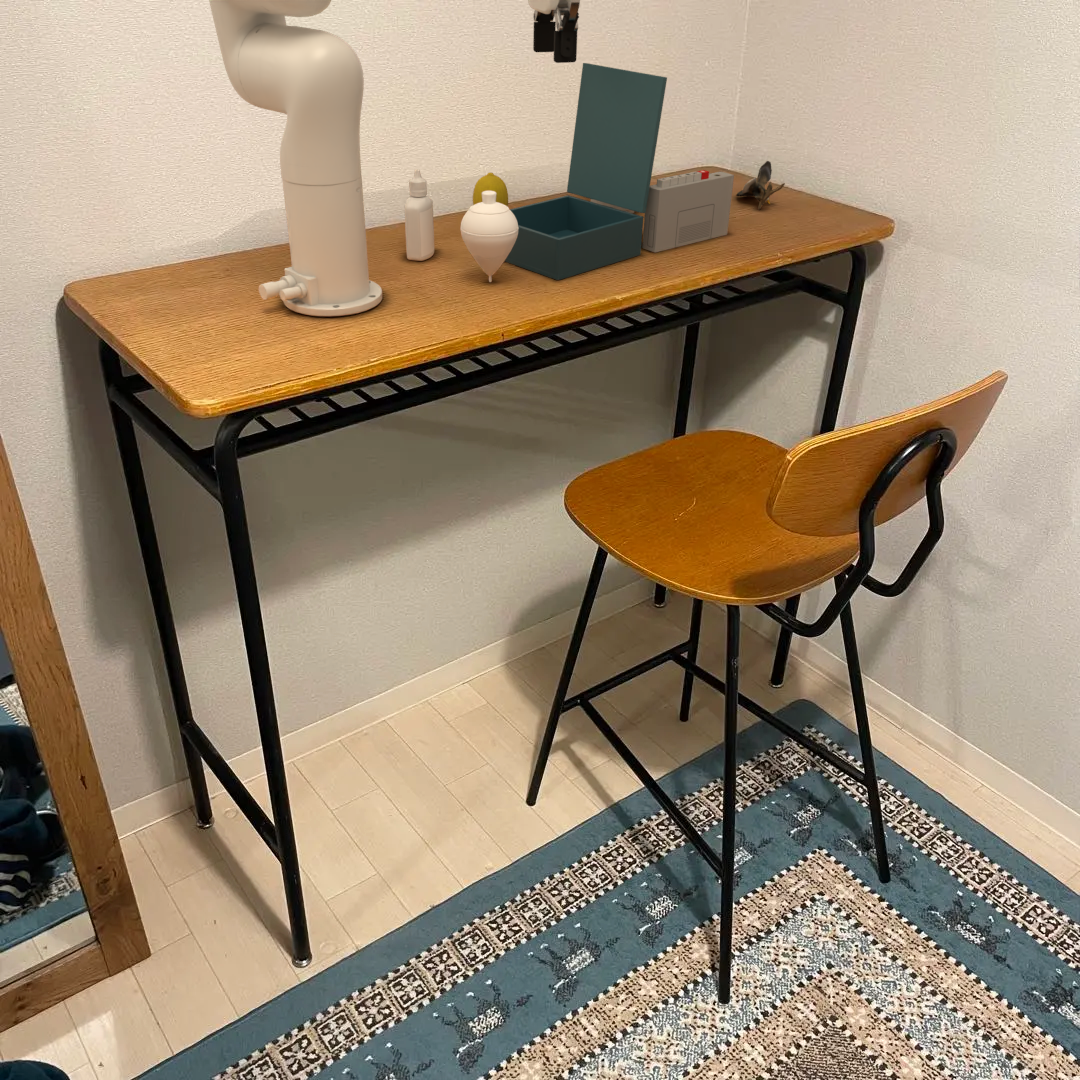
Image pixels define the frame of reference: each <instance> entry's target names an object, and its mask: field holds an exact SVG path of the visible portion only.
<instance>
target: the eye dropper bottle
mask: <svg viewBox="0 0 1080 1080" xmlns="http://www.w3.org/2000/svg"><path fill="white" fill-rule="evenodd" d="M427 183H428V182H427V179H426V178H423V177H422V173H421V170H420V169H414V173H413V177H412V178H410V179H409V180H408V188H409V189H408V190H409V197H408V198H407V199H406V201H405V204H404V224H405V225H404V227H405V229H404V230H405V248H406V250H405V251H406V258H407V260H409V261H415V262H424V261H425V260H428V259H430V258H432V256H434V254H435V249H436V248H435V225H434V222H435V221H434V203H433V202H434V201H433V200H432V198H431V197H430V196H428V184H427Z"/></svg>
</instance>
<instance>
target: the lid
mask: <svg viewBox="0 0 1080 1080" xmlns="http://www.w3.org/2000/svg"><path fill="white" fill-rule="evenodd" d="M667 80H668V77H666V76H661V75H656V74H650V73H645V72H639V71H632V70H628V69H622V68H617V67H611V66H604V65H600V64H595V63H588V62H583V63H582V69H581V77H580V85H579V94H578V100H577V109H576V117H575V123H574V131H573V139H572V147H571V156H570V163H569V171H568V180H567V186H566V193H569V194H572V195H577V196H580V197H583V198H587V199H590V200H591V199H593V200H597V201H600V202H604V203H608V204H611V205H615V206H618V207H622V208H625V209H629V210H632V211H635V212H636V213H639V214H645V213H646V206H647V200H648V194H649V188H650V186H651V181H652V175H653V169H654V161H655V156H656V151H657V142H658V137H659V131H660V127H661V126H660V124H661V119H662V112H663V106H664V100H665V94H666V88H667Z"/></svg>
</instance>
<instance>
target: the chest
mask: <svg viewBox="0 0 1080 1080" xmlns="http://www.w3.org/2000/svg"><path fill="white" fill-rule="evenodd" d="M509 209H510V210H511V212H512V213H513V214H514V216H515V217H516V219H517V222H518V236H517V239H516V241H515V244H514V246H513V248H512V250H511V252H510V253H509V255H508V256H507V258H506V259H505V261H504V262H505V263H508V264H510V265H514V266H517V267H519V268H522V269H525V270H527V271H530V272H532V273H533V272H534V273H537V274H539V275H542V276H545V277H548V278H550V279H553V280H556V281H560V280H561V281H562V280H564V279H567V278H570V277H574V276H577V275H580V274H583V273H586V272H589V271H593V270H596V269H600V268H603V267H606V266H609V265H613V264H616V263H619V262H622V261H625V260H628V259H632V258H635V257H638V256H641V255H642V244H643V230H644V216H643V215H640V214H635V213H629V212H626V211H622V210H619V209H615V208H612V207H608V206H605V205H601V204H598V203H594V202H591V200H586V199H583V198H579V197H576V196H573V195H568V194H567V195H563V196H559V197H555V198H551V199H546V200H543V201H537V202H535V203H530V204H526V205H522V206H518V207H514V208H509Z"/></svg>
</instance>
